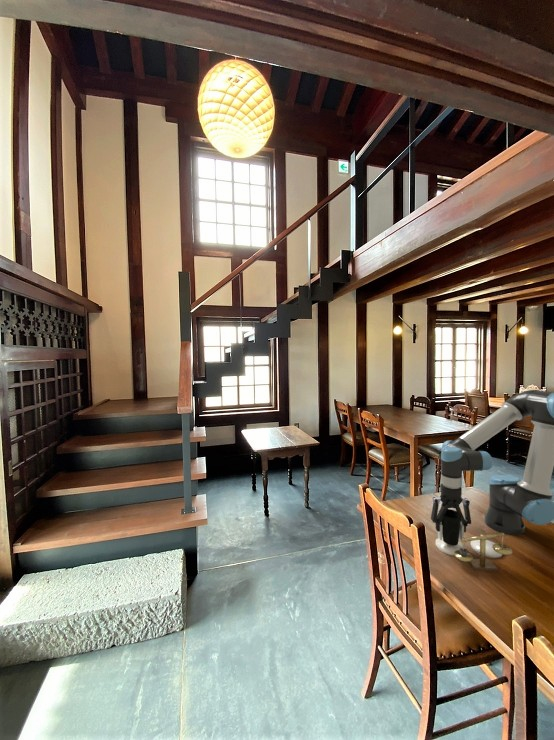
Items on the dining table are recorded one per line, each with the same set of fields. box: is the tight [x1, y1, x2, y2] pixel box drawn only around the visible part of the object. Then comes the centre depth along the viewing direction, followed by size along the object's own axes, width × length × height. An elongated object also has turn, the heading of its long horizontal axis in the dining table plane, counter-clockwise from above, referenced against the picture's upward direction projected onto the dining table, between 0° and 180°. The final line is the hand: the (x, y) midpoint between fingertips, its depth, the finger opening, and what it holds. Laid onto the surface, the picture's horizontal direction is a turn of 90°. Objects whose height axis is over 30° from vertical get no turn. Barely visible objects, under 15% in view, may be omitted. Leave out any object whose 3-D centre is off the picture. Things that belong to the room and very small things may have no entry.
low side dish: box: [435, 536, 467, 557], centre depth 131 cm, size 11×11×1 cm
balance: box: [454, 532, 513, 573], centre depth 119 cm, size 20×6×14 cm, turn 83°
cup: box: [441, 508, 461, 545], centre depth 130 cm, size 8×8×12 cm
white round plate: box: [470, 539, 503, 559], centre depth 129 cm, size 11×11×1 cm
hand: (450, 538), depth 130 cm, fingers closed on cup, 8 cm apart
